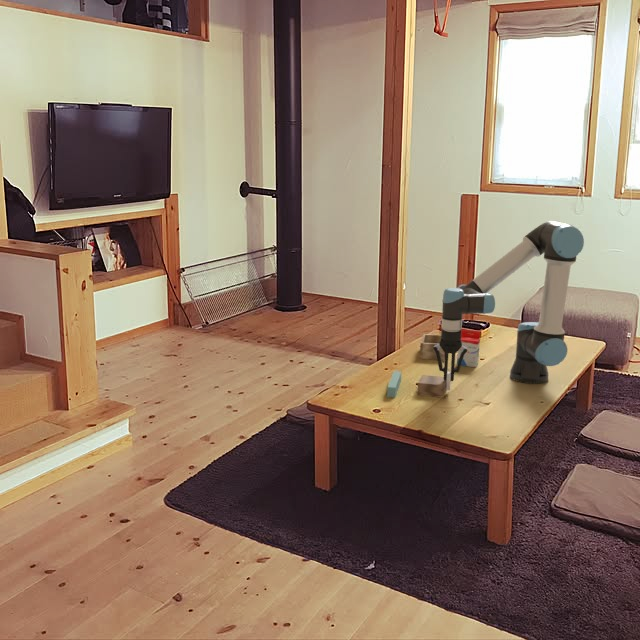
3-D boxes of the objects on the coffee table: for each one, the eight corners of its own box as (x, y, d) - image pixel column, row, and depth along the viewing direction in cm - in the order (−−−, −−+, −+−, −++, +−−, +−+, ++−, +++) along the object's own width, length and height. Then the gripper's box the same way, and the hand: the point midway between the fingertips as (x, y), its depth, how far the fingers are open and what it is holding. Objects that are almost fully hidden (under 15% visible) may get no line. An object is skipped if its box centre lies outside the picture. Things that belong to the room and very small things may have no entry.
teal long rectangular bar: (401, 380, 315) (401, 371, 314) (395, 397, 296) (395, 387, 295) (393, 380, 316) (393, 370, 315) (387, 397, 297) (387, 387, 296)
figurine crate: (448, 350, 357) (449, 335, 355) (446, 360, 342) (447, 344, 341) (422, 348, 359) (423, 333, 358) (419, 358, 345) (420, 343, 343)
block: (447, 389, 306) (448, 377, 305) (443, 398, 297) (444, 385, 296) (422, 386, 309) (422, 374, 308) (417, 395, 300) (417, 382, 299)
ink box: (456, 365, 336) (458, 332, 332) (459, 361, 340) (460, 329, 337) (476, 367, 333) (478, 334, 329) (478, 364, 337) (480, 331, 333)
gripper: (469, 327, 298) (465, 386, 303) (434, 325, 300) (431, 384, 306) (468, 333, 290) (465, 393, 296) (433, 330, 293) (430, 390, 299)
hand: (448, 388), depth 301 cm, fingers closed
